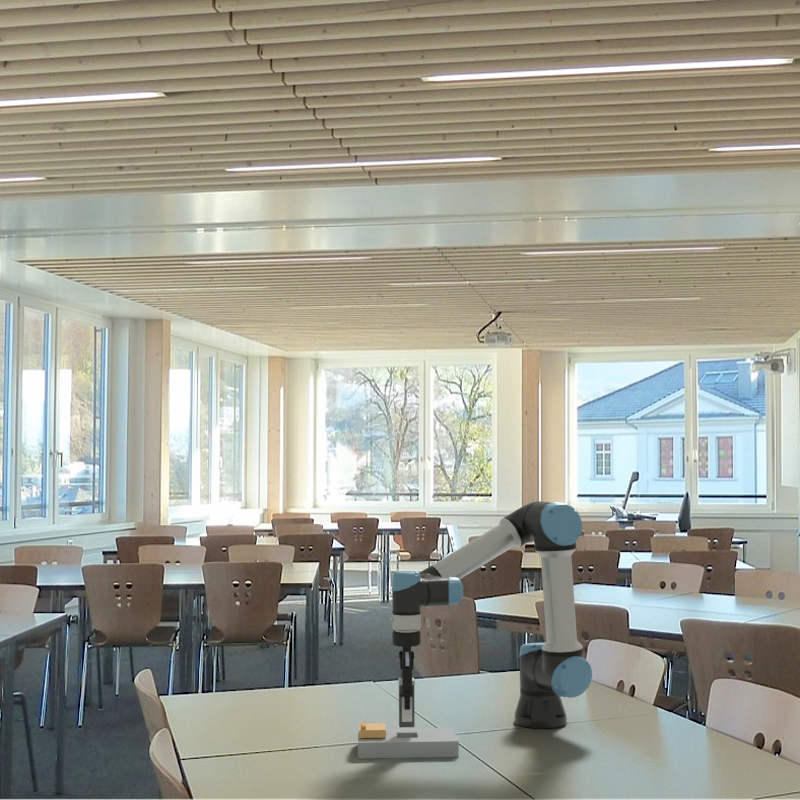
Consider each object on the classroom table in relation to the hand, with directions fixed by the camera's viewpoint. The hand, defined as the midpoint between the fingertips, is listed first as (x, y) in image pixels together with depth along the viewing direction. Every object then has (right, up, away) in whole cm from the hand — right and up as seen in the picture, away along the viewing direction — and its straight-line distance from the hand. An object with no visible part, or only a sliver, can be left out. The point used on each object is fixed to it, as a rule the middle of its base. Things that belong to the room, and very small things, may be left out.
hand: (406, 719), depth 286 cm
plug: (0, -2, 0) cm, 2 cm away
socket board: (0, -8, 0) cm, 8 cm away
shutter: (-9, -4, 0) cm, 10 cm away
